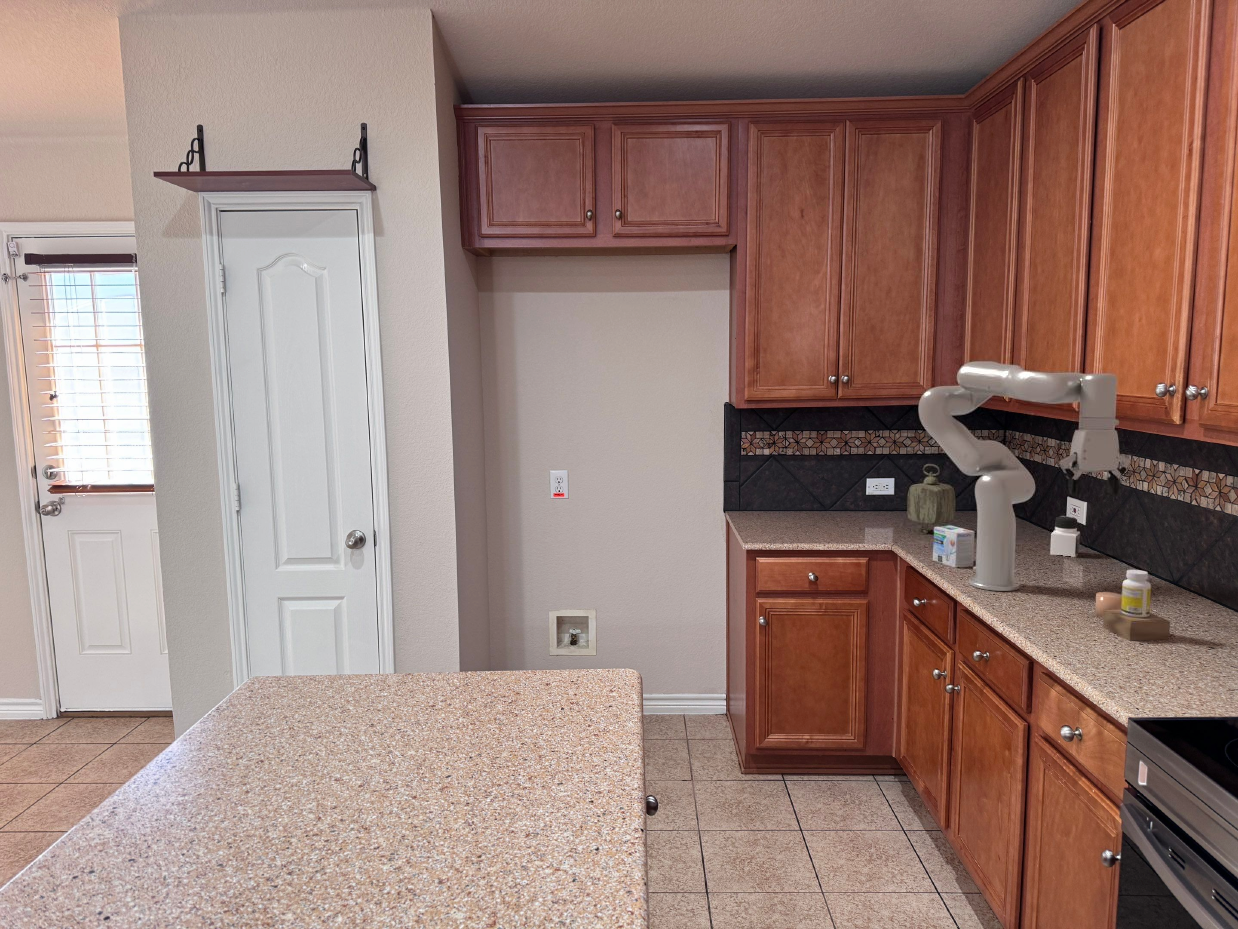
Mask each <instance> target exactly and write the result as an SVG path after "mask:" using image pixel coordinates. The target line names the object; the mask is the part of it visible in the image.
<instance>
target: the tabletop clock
mask: <svg viewBox="0 0 1238 929" xmlns="http://www.w3.org/2000/svg"><path fill="white" fill-rule="evenodd" d="M926 467H934V468H937V471H938V472H937V473H934V472H933V471H930V472H929V473H928V472H927V471H925V468H926ZM940 470H941V469H940V468H939V466H938V465H936V464H933V463H927V464H925V465H924V466H923V468H922V471H923V474H925V475H927V476H926V477H925V478H924V480H923V483H916V484H915V483H914V484H912V485H911V486H909V488H908V493H907V501H906V504H907V506H906V509H907V510H906V511H907V512H906V513H907V518H908V519H910V520H911V521H912V522H914V523H917V524H920V525H919V527H918V528H919V530H922V532H923V534H926V535H927V534H929V531H928V526H939V527H940V526H945V524H949V523H953V520H954V517H955V513H956V512H955V511H956V495H955V494H956V493H955V490H954V487H952V486H951V485H950V484H945V483H941V482H939V480H938V478H937V477H936V476H938V475H939V474H940V472H941V471H940Z"/></svg>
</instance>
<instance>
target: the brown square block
mask: <svg viewBox="0 0 1238 929" xmlns="http://www.w3.org/2000/svg"><path fill="white" fill-rule="evenodd" d="M1102 619H1103V620H1102V628H1103V629H1105V630H1107V631H1109V632H1111V633H1113V634H1115V635H1118V636H1119V637H1121V638H1123V639H1126V640H1128V641H1147V640H1149V641H1151V640H1169V639H1170V627H1171V621H1170V620H1168V619H1166V618H1163V617H1162V616H1159V615H1156V614H1154V613H1151V612H1150V615H1149V616H1148V617H1131V616H1127V615H1124V614H1123V613H1122V612H1121V610H1107V611H1104V615H1103V618H1102Z"/></svg>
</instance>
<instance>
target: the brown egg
mask: <svg viewBox="0 0 1238 929" xmlns="http://www.w3.org/2000/svg"><path fill="white" fill-rule="evenodd" d="M1121 606H1122V593H1116V592H1110V591H1109V592H1108V591H1101V592H1099V591H1098V592H1096V594H1095V610H1094V614H1095V616H1097V617H1099V618H1102V619H1103V615H1104V611H1107V610H1121Z"/></svg>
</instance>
